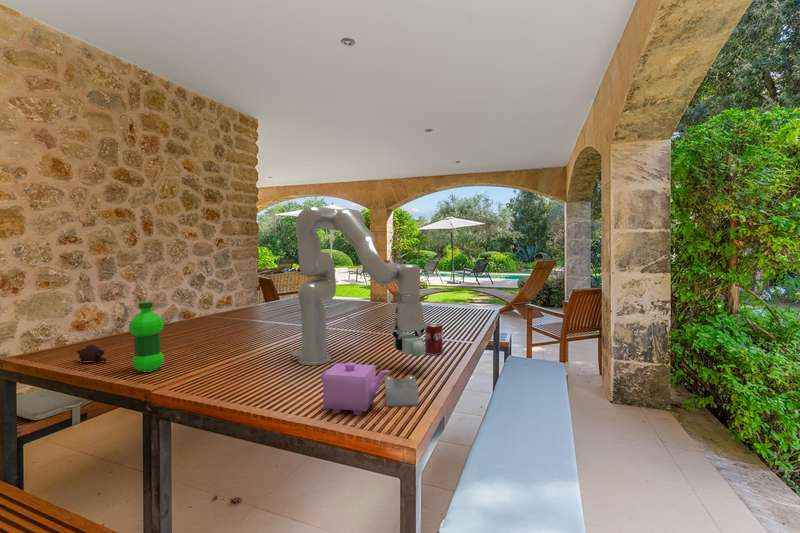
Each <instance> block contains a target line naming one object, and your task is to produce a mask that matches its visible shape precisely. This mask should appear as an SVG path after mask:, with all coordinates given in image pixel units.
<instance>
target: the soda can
mask: <svg viewBox="0 0 800 533" xmlns="http://www.w3.org/2000/svg"><path fill="white" fill-rule="evenodd" d="M426 324H427V325H428V326H427V328H426V329H425V330H424V344H425V348H426V350H425V354H427V355H428V354H430V355H429V356H439V355H438V354H440V355H441V353H442V354H443V352H444V351H443V349H444V348H443V347H444V345H443V344H444V343H443V341H444V340H443V339H444V338H443V334H444V333H443V332H444V331H443V328H444V327H443V324H442V323H439V322H429V323H426Z"/></svg>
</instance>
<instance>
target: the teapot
mask: <svg viewBox="0 0 800 533" xmlns="http://www.w3.org/2000/svg"><path fill="white" fill-rule="evenodd" d="M390 372H391V370H390V369H388V370H387V369H385V370H384V369H383V370H381V371H379V373H378V374H377V376H376V364H358V363H356V362H354V361H353V362H351V361H350V362H346V363H337V362H336V363H335V364H333V365H332V367H330V368H327V369H325V370H324V371H323V372H322V373H321V376H320V378H321V382H322V388H323V389H322V390H323V393H322V394H323V395H322V396H323V409H328V410H329V409H331V410H332V411H331V413H333V414H340V413H341V412H342V411H343V410H344V411H352V413H353V414H352V415H354V416H360V415H362V414H363V412H367V411H368V409H369V408H370V407H371V404H373V401H374V400H375V398H376V397H377V392H379V390H380V388H381V385H382V382H383V378H384V377H385V376H386V375H387V374H389V373H390Z"/></svg>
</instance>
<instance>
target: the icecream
mask: <svg viewBox="0 0 800 533" xmlns="http://www.w3.org/2000/svg"><path fill="white" fill-rule="evenodd" d="M75 352H76V354H78V358H79V359H80V361H81V362H83V361H96V362H97V360H98V362H99V361H107V359H106V357H103V355H105V353H106V352H105V350H104V349H102V348H100V347H99V346H97V345H94V344H91V345H87V346H86V347H85V348H81V349H78V350H75ZM107 362H108V361H107Z"/></svg>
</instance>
